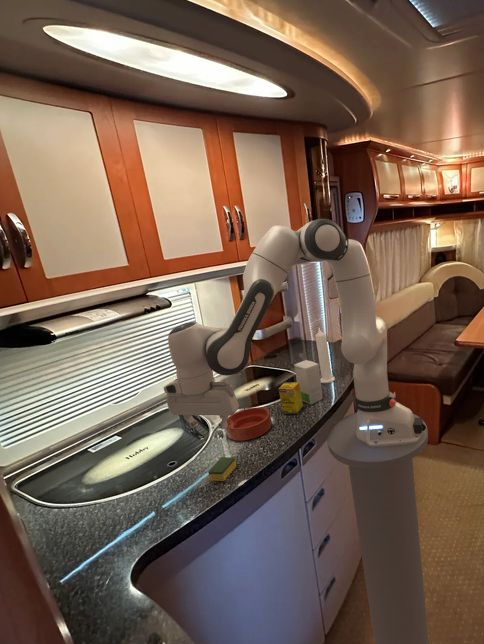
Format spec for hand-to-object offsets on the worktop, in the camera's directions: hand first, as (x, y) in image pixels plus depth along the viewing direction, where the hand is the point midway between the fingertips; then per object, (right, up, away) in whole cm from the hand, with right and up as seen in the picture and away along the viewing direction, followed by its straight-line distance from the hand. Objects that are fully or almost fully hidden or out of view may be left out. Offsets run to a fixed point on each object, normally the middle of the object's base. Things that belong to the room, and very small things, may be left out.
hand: (209, 427), depth 105 cm
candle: (+28, +7, +64) cm, 70 cm away
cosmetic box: (+23, +1, +47) cm, 52 cm away
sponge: (+2, -15, +5) cm, 16 cm away
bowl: (+4, -7, +28) cm, 29 cm away
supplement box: (+17, -3, +39) cm, 42 cm away
